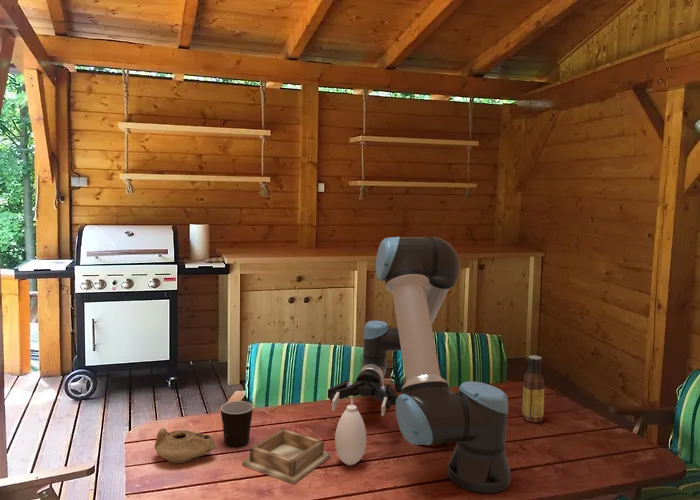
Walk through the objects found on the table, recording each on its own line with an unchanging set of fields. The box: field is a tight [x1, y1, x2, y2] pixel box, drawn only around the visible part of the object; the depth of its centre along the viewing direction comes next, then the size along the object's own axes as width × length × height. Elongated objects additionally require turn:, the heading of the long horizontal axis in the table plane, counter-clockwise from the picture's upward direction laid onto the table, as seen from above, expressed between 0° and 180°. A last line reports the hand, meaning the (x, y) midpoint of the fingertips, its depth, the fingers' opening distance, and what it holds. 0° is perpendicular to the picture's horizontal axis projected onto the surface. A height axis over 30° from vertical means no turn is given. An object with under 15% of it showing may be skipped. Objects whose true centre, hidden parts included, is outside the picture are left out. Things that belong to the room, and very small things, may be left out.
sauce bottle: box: [521, 354, 545, 424], centre depth 176 cm, size 7×6×20 cm
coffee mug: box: [220, 400, 254, 449], centre depth 157 cm, size 12×9×10 cm
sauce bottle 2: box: [334, 396, 367, 466], centre depth 146 cm, size 8×8×18 cm
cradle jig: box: [242, 428, 331, 485], centre depth 147 cm, size 16×16×4 cm
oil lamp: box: [154, 427, 217, 464], centre depth 147 cm, size 11×15×8 cm
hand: (357, 408), depth 155 cm, fingers open, 13 cm apart
